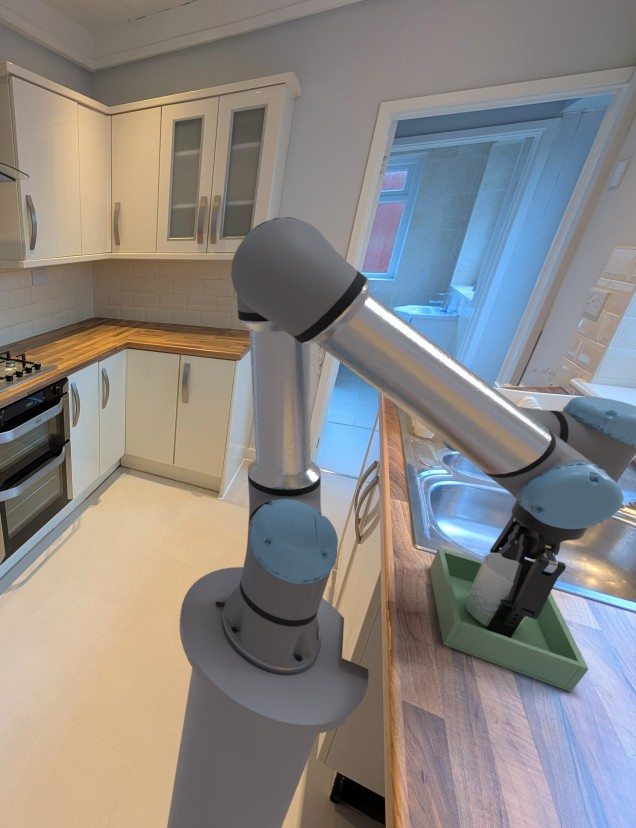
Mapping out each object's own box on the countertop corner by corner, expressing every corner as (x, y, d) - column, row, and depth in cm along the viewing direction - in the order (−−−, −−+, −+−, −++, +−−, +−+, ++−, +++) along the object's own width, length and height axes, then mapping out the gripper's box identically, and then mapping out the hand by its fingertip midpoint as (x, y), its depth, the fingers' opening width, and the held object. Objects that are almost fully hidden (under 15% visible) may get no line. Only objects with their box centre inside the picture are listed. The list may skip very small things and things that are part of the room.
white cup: (470, 589, 75) (493, 546, 71) (529, 621, 69) (559, 576, 65) (452, 609, 72) (476, 565, 67) (514, 645, 66) (544, 599, 61)
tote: (442, 644, 67) (454, 622, 65) (429, 568, 82) (438, 548, 79) (571, 692, 60) (588, 669, 58) (531, 600, 75) (544, 579, 73)
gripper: (629, 557, 51) (542, 678, 61) (566, 476, 67) (505, 582, 77) (545, 535, 54) (475, 653, 64) (504, 463, 70) (453, 566, 80)
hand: (491, 614), depth 70 cm, fingers closed on white cup, 8 cm apart
